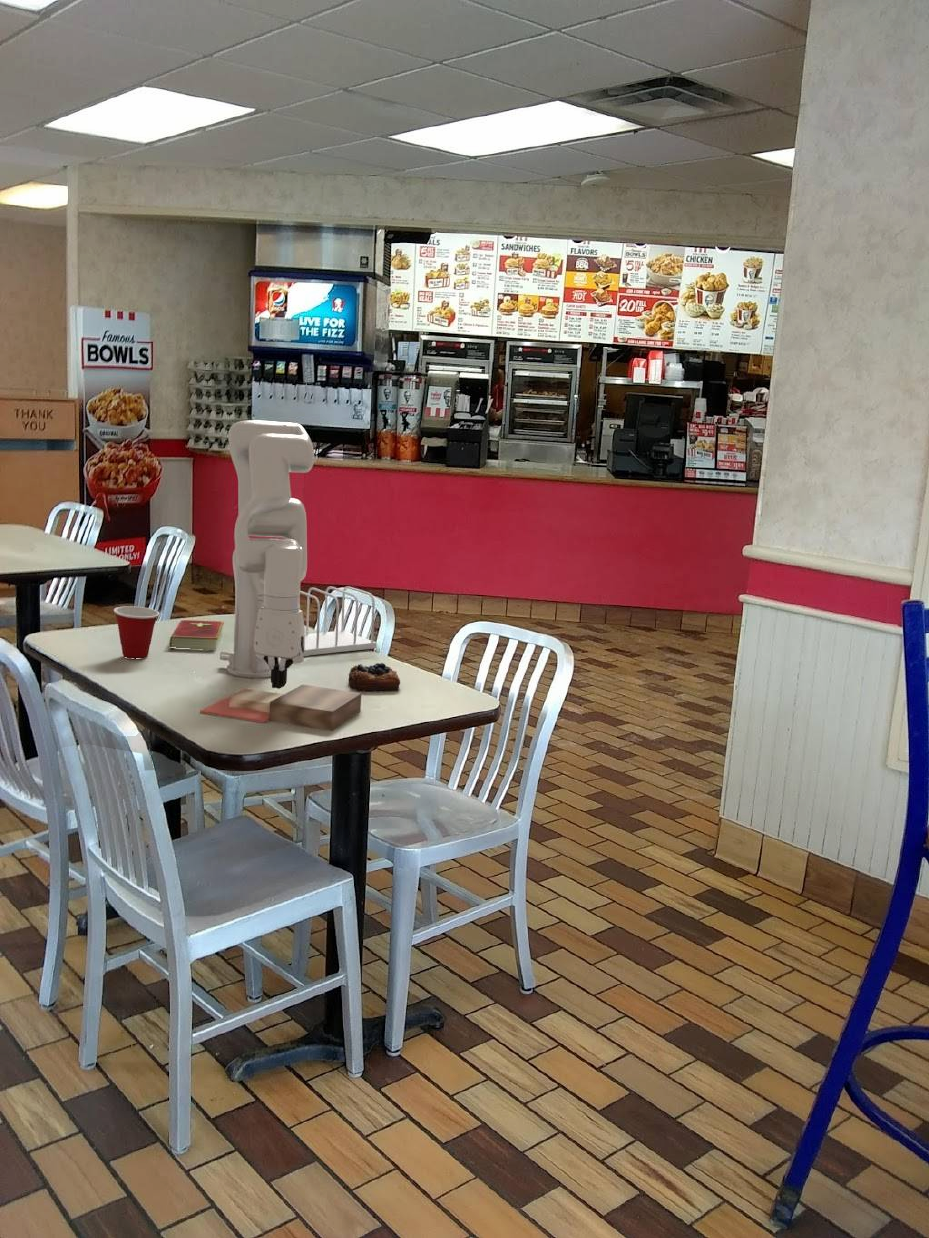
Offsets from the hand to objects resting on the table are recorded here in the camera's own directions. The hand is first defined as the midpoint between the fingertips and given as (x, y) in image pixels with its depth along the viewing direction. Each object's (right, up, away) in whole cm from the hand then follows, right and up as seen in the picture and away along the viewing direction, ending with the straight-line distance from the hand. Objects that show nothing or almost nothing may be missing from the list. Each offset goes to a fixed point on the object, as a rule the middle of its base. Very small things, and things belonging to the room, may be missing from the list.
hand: (278, 686), depth 229 cm
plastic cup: (-42, +5, +37) cm, 56 cm away
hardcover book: (-32, +8, +58) cm, 67 cm away
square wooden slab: (+8, -6, -1) cm, 10 cm away
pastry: (+18, -2, +26) cm, 32 cm away
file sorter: (+1, +7, +62) cm, 63 cm away
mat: (-6, -4, +2) cm, 8 cm away
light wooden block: (-4, -4, +1) cm, 6 cm away
